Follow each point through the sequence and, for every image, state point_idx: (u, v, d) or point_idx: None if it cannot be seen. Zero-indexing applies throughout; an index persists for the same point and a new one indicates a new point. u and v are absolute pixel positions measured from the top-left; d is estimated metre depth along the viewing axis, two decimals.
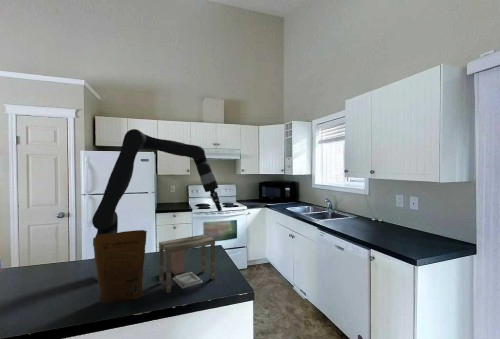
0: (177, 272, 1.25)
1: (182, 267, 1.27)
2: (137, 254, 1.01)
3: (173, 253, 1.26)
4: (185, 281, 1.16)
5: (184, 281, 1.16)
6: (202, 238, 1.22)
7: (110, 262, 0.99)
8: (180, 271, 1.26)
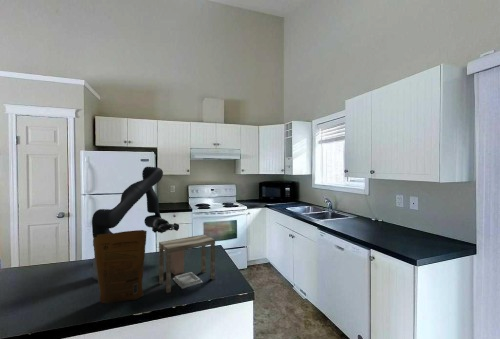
0: (177, 272, 1.25)
1: (182, 267, 1.27)
2: (137, 254, 1.01)
3: (173, 253, 1.26)
4: (185, 281, 1.16)
5: (184, 281, 1.16)
6: (202, 238, 1.22)
7: (110, 262, 0.99)
8: (180, 271, 1.26)
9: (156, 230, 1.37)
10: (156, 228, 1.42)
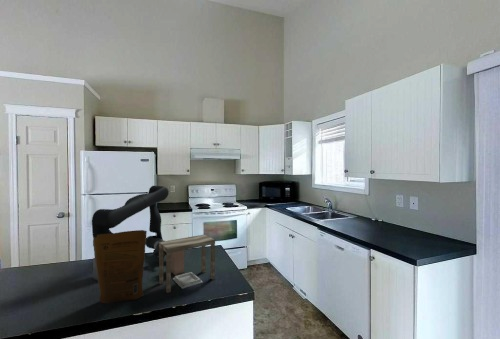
0: (177, 272, 1.25)
1: (182, 267, 1.27)
2: (137, 254, 1.01)
3: (173, 253, 1.26)
4: (185, 281, 1.16)
5: (184, 281, 1.16)
6: (202, 238, 1.22)
7: (110, 262, 0.99)
8: (180, 271, 1.26)
9: (157, 255, 1.35)
10: (157, 252, 1.40)
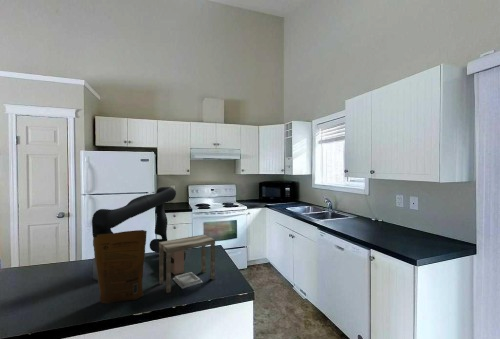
0: (177, 271, 1.25)
1: (182, 267, 1.27)
2: (137, 254, 1.01)
3: (173, 253, 1.25)
4: (185, 281, 1.16)
5: (184, 281, 1.16)
6: (202, 238, 1.22)
7: (110, 262, 0.99)
8: (180, 271, 1.26)
9: None
10: None
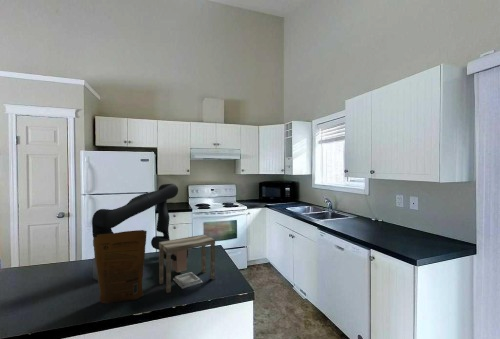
0: (180, 269, 1.22)
1: (185, 264, 1.24)
2: (137, 254, 1.01)
3: None
4: (185, 281, 1.16)
5: (184, 281, 1.16)
6: (202, 238, 1.22)
7: (110, 262, 0.99)
8: (183, 269, 1.23)
9: None
10: None
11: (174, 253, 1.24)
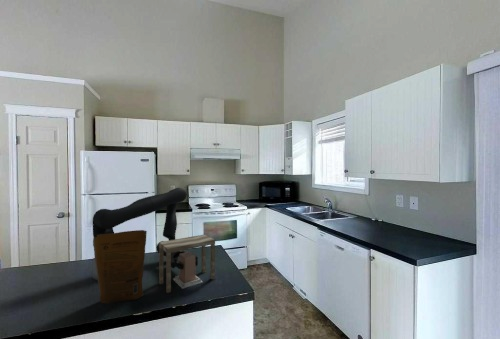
0: (188, 280, 1.14)
1: (193, 275, 1.16)
2: (137, 254, 1.01)
3: (183, 260, 1.14)
4: None
5: None
6: (202, 238, 1.22)
7: (110, 262, 0.99)
8: (191, 280, 1.15)
9: (175, 265, 1.16)
10: (172, 262, 1.20)
11: (182, 263, 1.16)
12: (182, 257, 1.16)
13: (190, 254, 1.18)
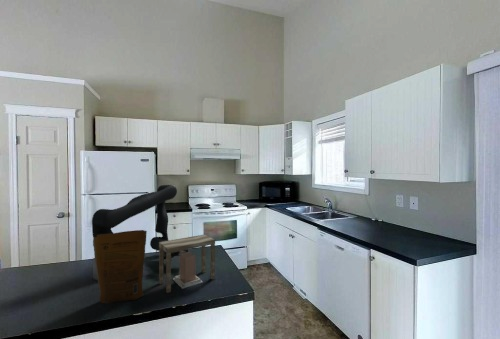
0: (188, 280, 1.14)
1: (193, 275, 1.16)
2: (137, 254, 1.01)
3: (184, 260, 1.14)
4: None
5: None
6: (202, 238, 1.22)
7: (110, 262, 0.99)
8: (191, 280, 1.15)
9: (164, 258, 1.26)
10: (164, 254, 1.31)
11: (182, 263, 1.16)
12: (182, 257, 1.16)
13: (190, 254, 1.18)
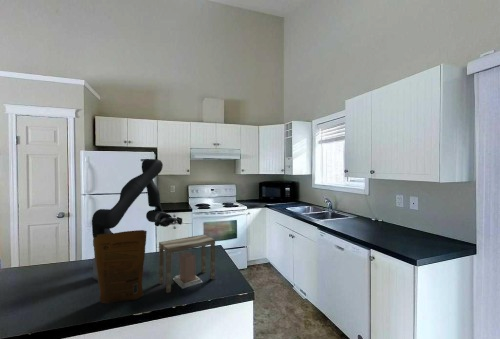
0: (188, 280, 1.14)
1: (193, 275, 1.16)
2: (137, 254, 1.01)
3: (184, 260, 1.14)
4: None
5: None
6: (202, 238, 1.22)
7: (110, 262, 0.99)
8: (191, 280, 1.15)
9: (159, 224, 1.32)
10: (159, 222, 1.37)
11: (182, 263, 1.16)
12: (182, 257, 1.16)
13: (190, 254, 1.18)
